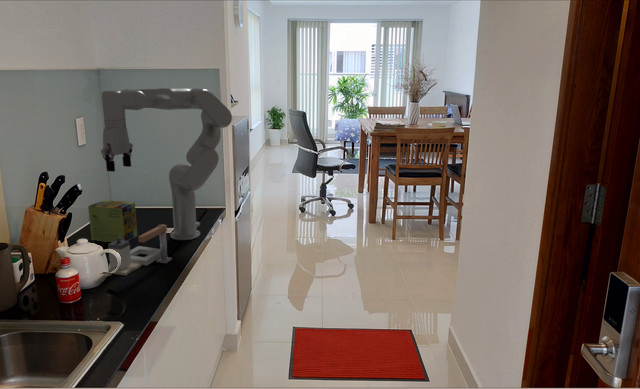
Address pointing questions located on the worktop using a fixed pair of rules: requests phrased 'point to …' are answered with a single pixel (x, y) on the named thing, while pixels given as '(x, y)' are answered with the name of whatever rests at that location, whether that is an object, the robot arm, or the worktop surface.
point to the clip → (152, 233)
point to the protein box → (112, 221)
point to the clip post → (163, 249)
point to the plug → (124, 252)
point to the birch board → (126, 269)
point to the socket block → (151, 252)
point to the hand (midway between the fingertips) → (119, 168)
